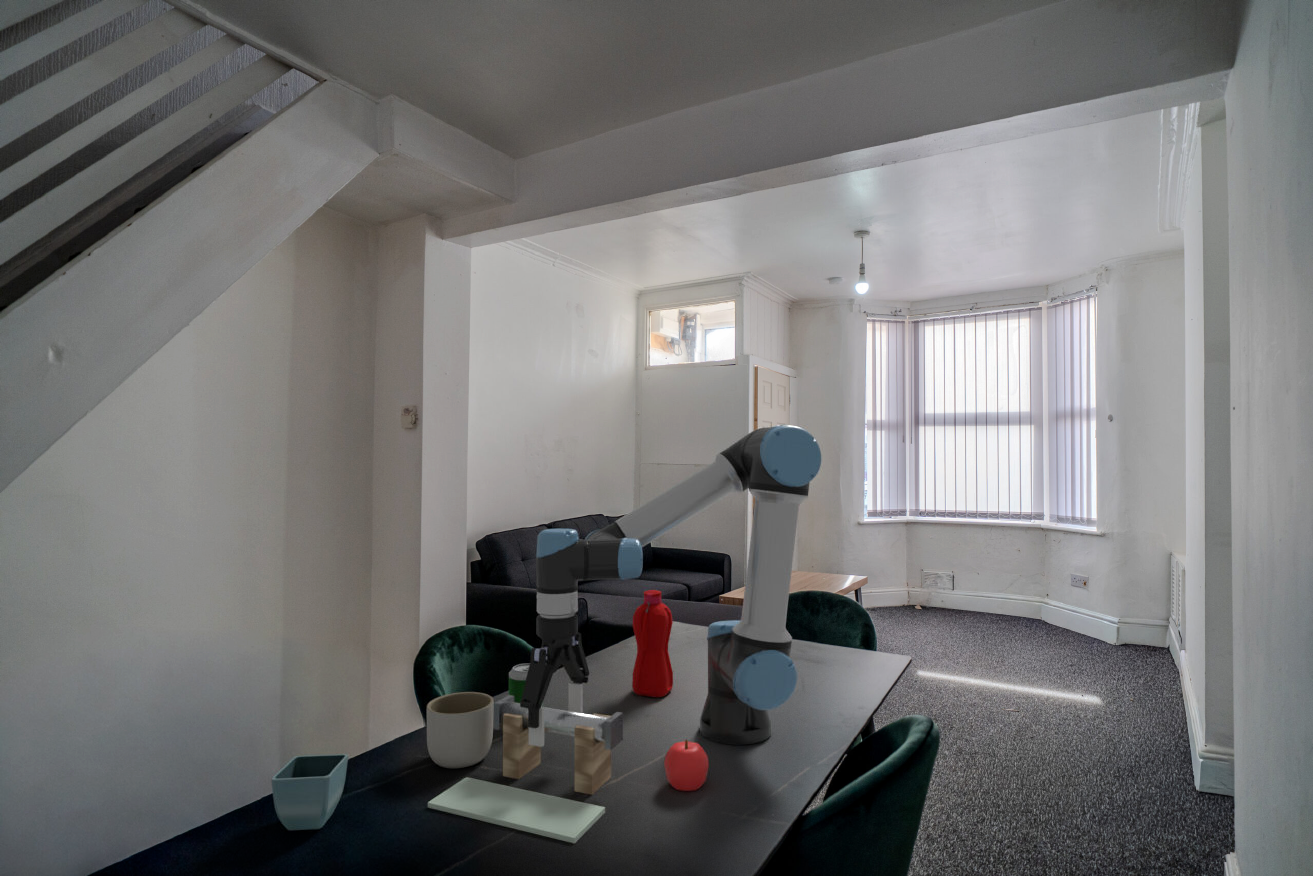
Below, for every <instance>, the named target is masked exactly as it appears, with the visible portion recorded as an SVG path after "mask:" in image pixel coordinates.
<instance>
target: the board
mask: <svg viewBox="0 0 1313 876" xmlns="http://www.w3.org/2000/svg"><path fill="white" fill-rule="evenodd" d="M427 808H429V809H432V810H437V811H441V812H446V813H449V814H454V815H458V816H461V817H466V818H470V819H473V820H478V821H480V822H481V821H482V822H486V823H490V824H494V825H498V826H502V827H506V828H511V829H515V830H518V831H523V832H526V833H530V834H534V835H538V836H543V837H547V838H551V839H555V840H558V841H564V842H567V843H572V844H576V843H577V842H578V840H579V839H581V838H582V837H583V836H584V834H585V833H587V832H588V831H589V829H591V827H592V826H594V824H596V822H598V820H599V819H600V818H601V817H602V816H603V815H604V814H605V813H606V807H605V806H600V805H596V804H593V803H592V804H591V803H587V802H581V801H577V800H572V799H569V798H565V797H560V796H555V795H549V794H545V793H540V792H536V791H532V790H527V789H523V788H518V787H514V786H510V785H509V786H508V785H505V784H500V783H496V782H491V781H486V780H480V779H477V778H473V777H468V776H466V777H465V778H463V779H461V780H460V781H458V782H456V783H455V784H453V785H452V786H451V787H449V788H447V789H446V790H445V791H443V792H442V793H440V794H439V795H437V796H436V797H433V799H431V800H430V801H428V802H427ZM579 841H580V840H579Z"/></svg>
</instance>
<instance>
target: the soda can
mask: <svg viewBox="0 0 1313 876" xmlns="http://www.w3.org/2000/svg"><path fill="white" fill-rule="evenodd" d="M529 665H530V663H519V664H516V665H514V666H512V668H511V670H510V671H509V672H508V695H512V696H514V702H515V703H520V702H521V698H522V694H523V690H524V686H525V682H526V677H527V673H528V669H529ZM541 707H544V702H543V703H542V706H541Z"/></svg>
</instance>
